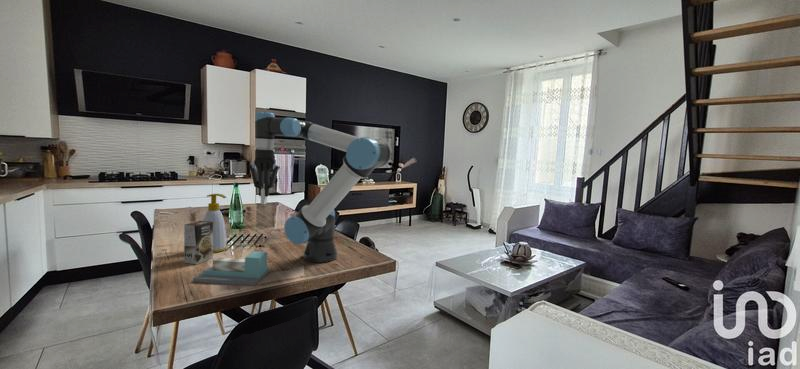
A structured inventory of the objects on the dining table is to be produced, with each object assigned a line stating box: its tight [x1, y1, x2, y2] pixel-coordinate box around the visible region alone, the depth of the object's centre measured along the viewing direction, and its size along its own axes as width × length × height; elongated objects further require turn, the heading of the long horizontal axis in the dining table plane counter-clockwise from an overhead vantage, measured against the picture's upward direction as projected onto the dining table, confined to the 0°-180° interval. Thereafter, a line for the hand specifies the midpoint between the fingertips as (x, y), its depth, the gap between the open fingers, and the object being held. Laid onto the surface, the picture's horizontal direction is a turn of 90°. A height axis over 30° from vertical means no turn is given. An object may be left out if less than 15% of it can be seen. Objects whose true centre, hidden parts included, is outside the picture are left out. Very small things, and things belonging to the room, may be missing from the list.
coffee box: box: [183, 220, 214, 265], centre depth 142 cm, size 9×6×16 cm
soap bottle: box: [203, 193, 228, 254], centre depth 157 cm, size 11×12×26 cm
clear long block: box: [212, 257, 245, 272], centre depth 127 cm, size 15×4×5 cm, turn 90°
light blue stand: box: [192, 250, 271, 286], centre depth 127 cm, size 22×14×9 cm, turn 90°
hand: (263, 203), depth 147 cm, fingers closed
